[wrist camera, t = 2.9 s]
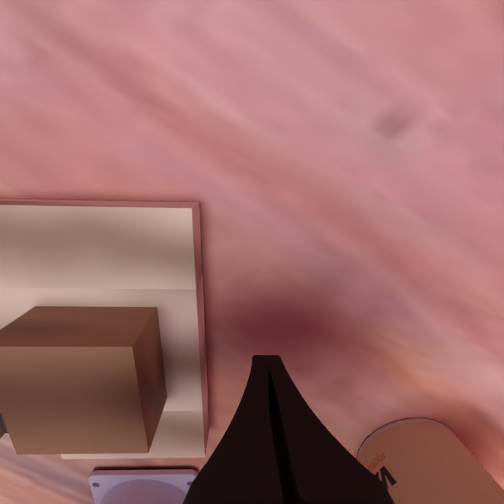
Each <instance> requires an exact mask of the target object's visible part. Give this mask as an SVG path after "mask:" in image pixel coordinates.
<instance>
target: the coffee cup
mask: <svg viewBox="0 0 504 504" xmlns="http://www.w3.org/2000/svg"><path fill="white" fill-rule="evenodd" d="M357 460H358V461H359V462H360V463H361V464H362V465H363V466H364V467H366V468H367V469H368V470H369V471H370V472H371V473H373V474H374V475H375V476H376V477H377V478H379V479H380V480H381V481H382V482H383V483H384V485H385V487H386V489H387V490H388V492H389V494H390V496H391V498H392V499H393V501H394V503H395V504H504V490H503V489H502V488H501V487H500V485H499V484H498V483H497V482H496V481H495V480H494V478H493V477H492V476H491V475H490V474H489V473H488V472H487V470H486V469H485V468H484V467H483V466H482V465H481V464H480V462H479V461H478V460H477V459H476V458H475V457H474V455H473V454H472V453H471V452H470V451H469V450H468V449H467V448H466V446H465V445H464V444H463V443H462V442H461V441H460V440H459V439H458V438H457V437H456V435H455V434H454V433H453V432H452V431H451V430H450V429H449V428H448V427H446V426H445V425H443V424H442V423H439V422H437V421H434V420H430V419H425V418H411V419H404V420H399V421H396V422H393V423H390V424H387V425H385V426H383V427H381V428H380V429H378V430H376V431H375V432H374V433H372V434H371V435H370V436H369V437H368V438H367V439H366V440H365V441H364V442H363V444H362V446H361V447H360V449H359V451H358V456H357Z"/></svg>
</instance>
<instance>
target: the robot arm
mask: <svg viewBox="0 0 504 504" xmlns="http://www.w3.org/2000/svg"><path fill="white" fill-rule="evenodd" d="M88 480H89V484H90V488H91V491H92V495H93V499H94V502H95V504H395V503H394V501H393V499H392V498H391V496H390V494H389V492H388V490H387V489H386V487H385V485H384V483H383V482H382V481H381V480H380V479H379V478H377V477H376V476H375V475H374V474H373V473H371V472H370V471H369V470H368V469H367V468H366V467H364V466H363V465H362V464H361V463H360V462H359V461H358V460H357V459H356V458H354V457H353V456H352V455H351V454H350V453H349V452H348V451H347V450H346V449H345V448H344V447H343V446H342V445H341V444H340V443H339V441H338V440H337V439H336V438H335V437H334V436H333V435H332V434H331V433H330V432H329V431H328V430H327V428H326V427H325V426H324V425H323V424H322V423H321V421H320V420H319V419H318V418H317V416H316V415H315V414H314V413H313V411H312V410H311V409H310V407H309V406H308V404H307V403H306V401H305V400H304V399H303V397H302V396H301V394H300V393H299V391H298V389H297V388H296V386H295V384H294V383H293V381H292V379H291V378H290V376H289V374H288V372H287V370H286V368H285V366H284V364H283V362H282V360H281V357H280V356H279V355H254V356H253V357H252V367H251V371H250V375H249V379H248V382H247V385H246V388H245V391H244V394H243V396H242V399H241V401H240V404H239V406H238V409H237V411H236V413H235V415H234V417H233V419H232V421H231V423H230V425H229V427H228V429H227V431H226V432H225V434H224V436H223V438H222V439H221V441H220V443H219V444H218V446H217V447H216V449H215V451H214V452H213V454H212V455H211V457H210V458H209V460H208V461H207V463H206V464H205V465H204V467H203V468H202V470H201V471H200V472H199V474H197V472H196V471H195V470H193V469H171V470H96V471H93V472H91V474H90V476H89V478H88Z"/></svg>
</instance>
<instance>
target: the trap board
mask: <svg viewBox="0 0 504 504" xmlns="http://www.w3.org/2000/svg"><path fill="white" fill-rule="evenodd" d="M35 306H78V307H157V311H158V320H159V329H160V338H161V347H162V356H163V365H164V374H165V384H166V393H167V400H166V403H165V406H164V409H163V412H162V415H161V418H160V421H159V424H158V427H157V430H156V433H155V436H154V439H153V442H152V444H151V447H150V450H149V453H115V454H61V457H62V459H123V458H205V454H206V447H207V440H208V433H209V411H208V388H207V365H206V342H205V320H204V297H203V274H202V251H201V228H200V205H199V202H160V201H105V200H49V199H0V330H1V329H2V328H3V327H5V326H6V325H8V324H9V323H11V322H12V321H14V320H15V319H17V318H18V317H20V316H21V315H23V314H24V313H26V312H27V311H29V310H30V309H32V308H33V307H35ZM5 433H9V432H8V430H7V427H6V425H5V422H4V419H3V417H2V414H1V412H0V438H1V437H2V436H3V435H4V434H5Z"/></svg>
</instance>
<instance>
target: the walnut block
mask: <svg viewBox="0 0 504 504" xmlns="http://www.w3.org/2000/svg"><path fill="white" fill-rule="evenodd" d="M166 400H167V393H166V384H165V374H164V365H163V356H162V347H161V338H160V329H159V320H158V311H157V307H78V306H35V307H33V308H32V309H30V310H29V311H27V312H26V313H24V314H23V315H21V316H20V317H18V318H17V319H15V320H14V321H12V322H11V323H9V324H8V325H6V326H5V327H3V328H2V329H1V330H0V412H1V414H2V417H3V419H4V422H5V425H6V427H7V430H8V432H9V435H10V438H11V440H12V443H13V445H14V448H15V450H16V453H17V454H115V453H149V450H150V447H151V444H152V442H153V439H154V436H155V433H156V430H157V427H158V424H159V421H160V418H161V415H162V412H163V409H164V406H165V403H166Z"/></svg>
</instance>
